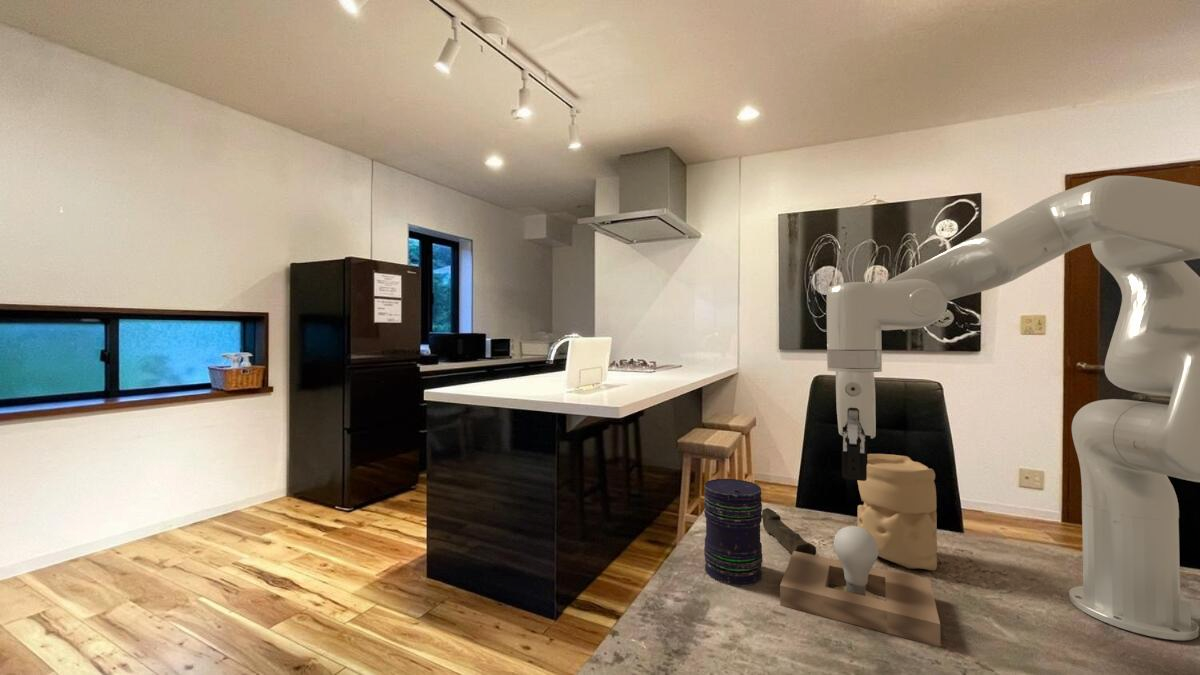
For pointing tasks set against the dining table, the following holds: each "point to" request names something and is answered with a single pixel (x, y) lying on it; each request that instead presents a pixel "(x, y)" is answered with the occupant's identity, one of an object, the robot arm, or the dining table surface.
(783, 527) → the hand tool
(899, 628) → the holder
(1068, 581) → the dining table surface
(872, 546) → the lightbulb
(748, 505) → the navy ridged cylinder
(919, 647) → the dining table surface
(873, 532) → the container
